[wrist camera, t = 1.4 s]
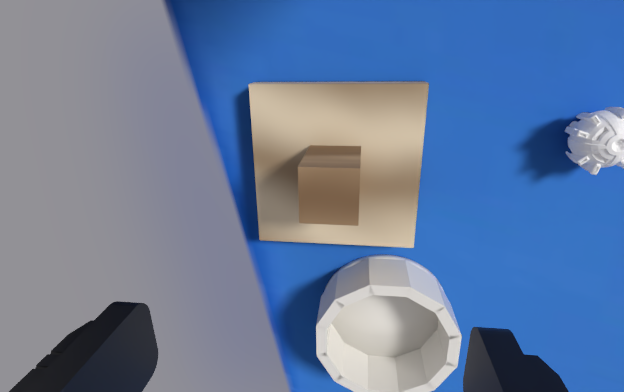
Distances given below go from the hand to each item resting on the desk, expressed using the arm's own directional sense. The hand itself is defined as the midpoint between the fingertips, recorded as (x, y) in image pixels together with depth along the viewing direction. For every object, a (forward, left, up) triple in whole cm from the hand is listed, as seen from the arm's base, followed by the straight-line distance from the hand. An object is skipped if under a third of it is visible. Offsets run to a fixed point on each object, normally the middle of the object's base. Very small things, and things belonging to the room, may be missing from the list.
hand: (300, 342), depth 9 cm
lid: (0, 0, -16) cm, 16 cm away
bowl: (+11, +3, -16) cm, 20 cm away
